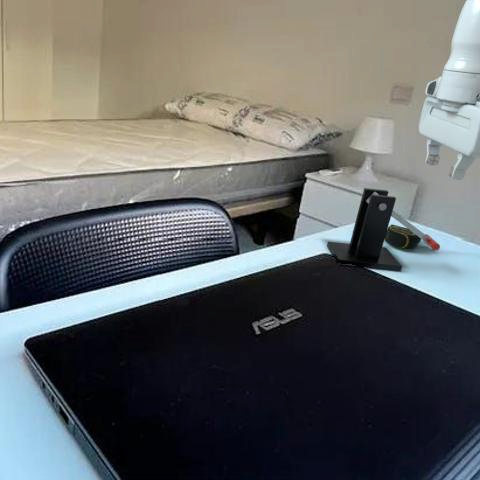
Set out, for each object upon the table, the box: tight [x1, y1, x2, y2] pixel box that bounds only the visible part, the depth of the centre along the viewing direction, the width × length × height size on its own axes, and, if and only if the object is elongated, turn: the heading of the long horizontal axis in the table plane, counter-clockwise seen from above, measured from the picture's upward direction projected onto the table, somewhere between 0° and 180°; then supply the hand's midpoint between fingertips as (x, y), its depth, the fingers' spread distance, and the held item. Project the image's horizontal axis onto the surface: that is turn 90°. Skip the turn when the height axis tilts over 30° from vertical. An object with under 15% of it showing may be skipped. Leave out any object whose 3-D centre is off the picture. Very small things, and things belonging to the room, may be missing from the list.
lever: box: [366, 192, 441, 252], centre depth 96 cm, size 16×5×2 cm, turn 88°
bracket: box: [326, 187, 403, 273], centre depth 97 cm, size 12×9×14 cm
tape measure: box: [384, 224, 422, 250], centre depth 107 cm, size 7×7×4 cm
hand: (442, 171), depth 89 cm, fingers open, 8 cm apart
